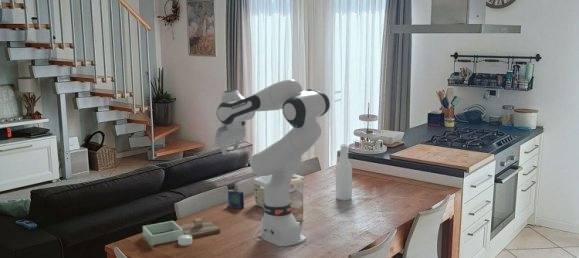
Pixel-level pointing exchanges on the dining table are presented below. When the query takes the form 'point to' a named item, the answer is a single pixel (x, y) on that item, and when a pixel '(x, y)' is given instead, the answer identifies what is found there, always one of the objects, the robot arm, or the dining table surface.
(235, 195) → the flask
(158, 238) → the dish
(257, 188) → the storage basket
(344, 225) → the dining table surface
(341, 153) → the alcohol
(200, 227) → the lid
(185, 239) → the white rounded piece
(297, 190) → the coffeecake box
